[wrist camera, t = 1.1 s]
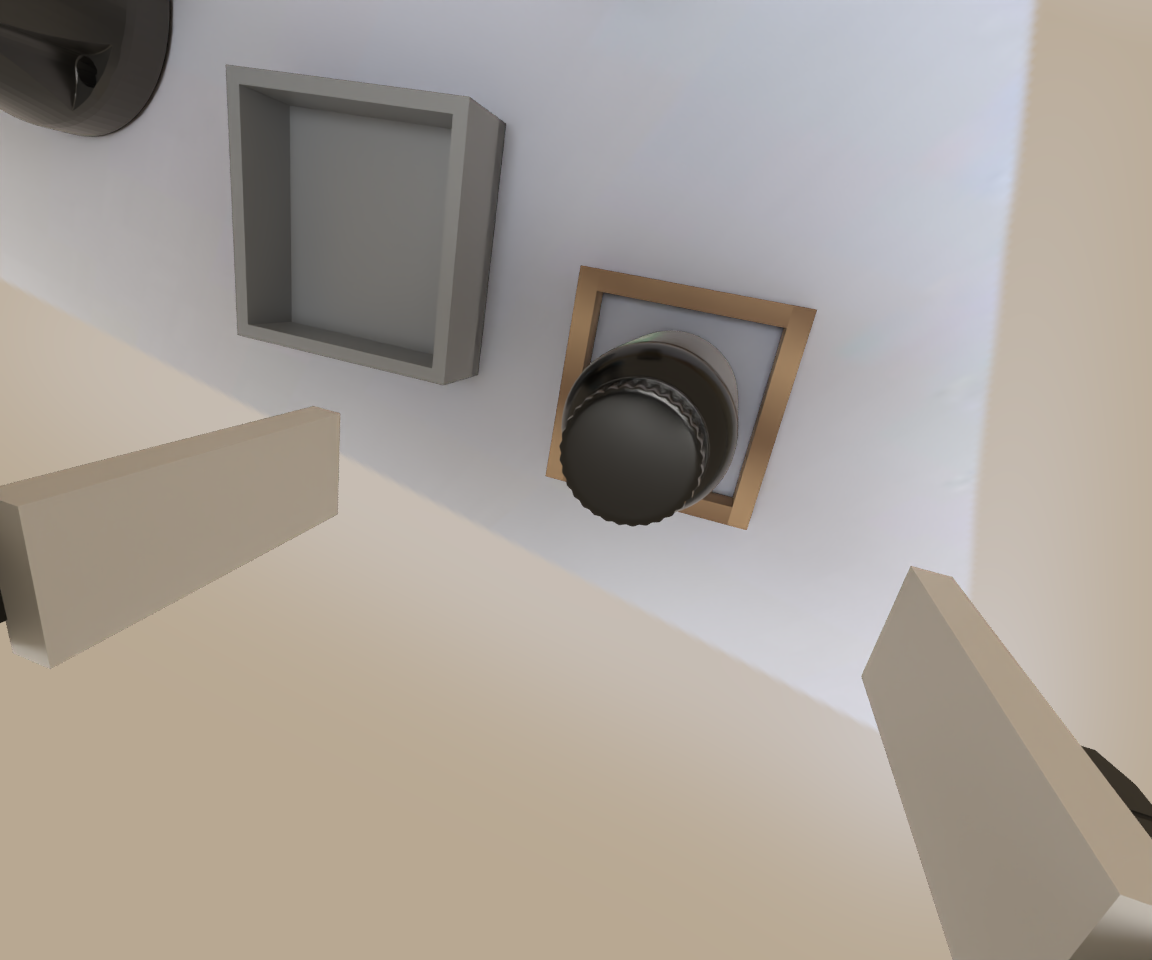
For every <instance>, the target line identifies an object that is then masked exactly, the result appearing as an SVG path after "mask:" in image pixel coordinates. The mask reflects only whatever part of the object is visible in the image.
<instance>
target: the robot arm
mask: <svg viewBox="0 0 1152 960" xmlns="http://www.w3.org/2000/svg"><path fill="white" fill-rule="evenodd" d="M168 32H169V0H0V109H1V110H3V111H5V112H7V113H8V114H10V115H12V116H14V117H16V118H19V119H21V120H24V121H26V122H29V123H32V124H35V125H38V126H42V127H46V128H50V129H54V130H58V131H62V132H67V133H71V134H75V135H80V136H100V135H104V134H108V133H111V132H114V131H116V130H118V129H120V128H121V127H123V126H124V125H126V124H127V123H128V122H130V121H131V120H132V119H133V118H134V117H135V116H136V115H137V114H138V113H139V112H140V111H141V109H142V108H143V107H144V105H145V104H146V102H147V101H148V99H149V97H150V96H151V94H152V92H153V90H154V88H155V85H156V83H157V81H158V78H159V75H160V72H161V69H162V66H163V62H164V57H165V53H166V47H167V41H168ZM339 441H340V413H337V412H334V411H330V410H326V409H322V408H319V407H315V406H312V407H308V408H304V409H300V410H296V411H292V412H288V413H285V414H281V415H277V416H273V417H269V418H265V419H261V420H257V421H254V422H249V423H246V424H242V425H237V426H234V427H230V428H226V429H222V430H218V431H214V432H210V433H206V434H202V435H198V436H194V437H191V438H186V439H182V440H179V441H175V442H171V443H167V444H163V445H159V446H155V447H151V448H147V449H143V450H140V451H136V452H131V453H128V454H124V455H120V456H116V457H112V458H108V459H104V460H101V461H96V462H92V463H88V464H84V465H80V466H76V467H72V468H69V469H65V470H61V471H57V472H53V473H49V474H45V475H41V476H37V477H33V478H29V479H25V480H21V481H17V482H14V483H10V484H6V485H2V486H0V623H1V622H4V621H6V625H7V629H8V633H9V638H10V642H11V647H12V650H13V653H14V654H16V655H18V656H21V657H23V658H25V659H28V660H30V661H33V662H35V663H37V664H40V665H42V666H44V667H47V668H49V669H51V668H53V667H55V666H57V665H59V664H61V663H63V662H64V661H66V660H68V659H70V658H72V657H74V656H76V655H77V654H79V653H81V652H83V651H84V650H87V649H89V648H90V647H92V646H94V645H96V644H98V643H100V642H102V641H103V640H105V639H107V638H109V637H111V636H113V635H115V634H116V633H118V632H120V631H122V630H124V629H125V628H128V627H129V626H131V625H133V624H135V623H137V622H139V621H140V620H142V619H144V618H146V617H148V616H150V615H152V614H153V613H155V612H157V611H159V610H161V609H163V608H165V607H166V606H168V605H170V604H172V603H174V602H176V601H178V600H179V599H181V598H183V597H185V596H187V595H189V594H190V593H193V592H194V591H196V590H198V589H200V588H202V587H204V586H206V585H207V584H209V583H211V582H213V581H215V580H216V579H218V578H220V577H222V576H224V575H226V574H228V573H230V572H231V571H233V570H235V569H237V568H239V567H241V566H243V565H244V564H246V563H248V562H250V561H252V560H254V559H256V558H257V557H259V556H261V555H263V554H265V553H267V552H269V551H270V550H272V549H274V548H276V547H277V546H280V545H282V544H283V543H285V542H287V541H289V540H291V539H293V538H294V537H296V536H298V535H300V534H302V533H304V532H305V531H307V530H309V529H311V528H313V527H315V526H317V525H319V524H320V523H322V522H324V521H326V520H328V519H330V518H332V517H334V516H335V515H337V514H338V481H339ZM861 677H862V680H863V683H864V686H865V689H866V692H867V695H868V698H869V701H870V705H871V708H872V711H873V714H874V717H875V720H876V723H877V726H878V729H879V732H880V736H881V739H882V742H883V745H884V748H885V751H886V754H887V757H888V760H889V764H890V767H891V770H892V773H893V776H894V779H895V782H896V785H897V788H898V791H899V794H900V798H901V801H902V804H903V807H904V810H905V813H906V816H907V819H908V822H909V825H910V829H911V832H912V835H913V838H914V841H915V844H916V847H917V851H918V853H919V857H920V860H921V863H922V866H923V869H924V872H925V875H926V879H927V882H928V885H929V888H930V891H931V894H932V897H933V900H934V903H935V906H936V909H937V913H938V916H939V919H940V922H941V925H942V928H943V931H944V934H945V938H946V941H947V944H948V947H949V950H950V953H951V956H952V959H953V960H1152V804H1151V803H1150V802H1149V801H1148V799H1147V798H1146V797H1145V796H1144V794H1143V793H1142V792H1141V791H1140V790H1139V788H1138V787H1137V786H1136V785H1135V784H1134V783H1133V782H1131V780H1129V779H1128V778H1127V777H1126V776H1125V775H1124V774H1122V773H1121V772H1120V771H1119V770H1118V769H1116V768H1115V767H1114V766H1113V765H1112V764H1111V763H1110V762H1108V761H1107V760H1106V759H1105V758H1104V757H1102V756H1101V755H1100V754H1099V753H1098V752H1097V751H1095V750H1093V749H1090V748H1086V747H1083V746H1081V745H1080V744H1079V743H1078V742H1077V740H1076V739H1075V738H1074V736H1073V735H1072V734H1071V732H1070V731H1069V730H1068V729H1067V727H1066V726H1065V725H1064V723H1063V722H1062V721H1061V719H1060V718H1059V717H1058V715H1057V714H1056V713H1055V711H1054V710H1053V709H1052V707H1051V706H1050V705H1049V704H1048V702H1047V701H1046V700H1045V698H1044V697H1043V696H1042V694H1041V693H1040V692H1039V690H1038V689H1037V688H1036V686H1035V685H1034V684H1033V683H1032V681H1031V680H1030V679H1029V677H1028V676H1027V675H1026V673H1025V672H1024V671H1023V669H1022V668H1021V667H1020V666H1019V664H1018V663H1017V661H1016V660H1015V659H1014V657H1013V656H1012V655H1011V654H1010V652H1009V651H1008V650H1007V648H1006V647H1005V646H1004V644H1003V643H1002V642H1001V640H1000V639H999V638H998V636H997V635H996V634H995V633H994V631H993V630H992V629H991V627H990V626H989V625H988V623H987V622H986V621H985V619H984V618H983V617H982V615H981V614H980V613H979V612H978V610H977V609H976V608H975V606H974V605H973V604H972V602H971V601H970V600H969V598H968V597H967V596H966V594H965V593H964V592H963V590H962V589H961V588H960V587H959V585H958V584H957V583H956V581H955V580H954V579H953V577H950V576H946V575H942V574H939V573H935V572H931V571H928V570H924V569H920V568H916V567H913V566H911V567H910V569H909V571H908V573H907V576H906V578H905V580H904V582H903V584H902V587H901V589H900V591H899V593H898V596H897V598H896V600H895V602H894V605H893V607H892V609H891V611H890V613H889V616H888V618H887V620H886V622H885V625H884V627H883V629H882V631H881V634H880V636H879V638H878V640H877V642H876V645H875V647H874V649H873V651H872V654H871V656H870V658H869V660H868V663H867V665H866V667H865V669H864V671H863V674H862V676H861Z"/></svg>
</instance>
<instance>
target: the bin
mask: <svg viewBox="0 0 1152 960" xmlns="http://www.w3.org/2000/svg"><path fill="white" fill-rule="evenodd" d="M226 84H227V106H228V129H229V152H230V174H231V197H232V220H233V242H234V265H235V288H236V311H237V333H238V335H240V336H244V337H248V338H252V339H256V340H260V341H264V342H268V343H272V344H277V345H281V346H285V347H289V348H293V349H297V350H301V351H305V352H309V353H313V354H318V355H322V356H326V357H330V358H334V359H338V360H342V361H346V362H350V363H354V364H358V365H363V366H367V367H371V368H375V369H379V370H383V371H387V372H391V373H395V374H399V375H404V376H408V377H412V378H416V379H420V380H424V381H428V382H432V383H436V384H440V385H446V384H449V383H453V382H456V381H459V380H462V379H466V378H469V377H472V376H475V375H478V369H479V360H480V351H481V342H482V333H483V324H484V315H485V306H486V297H487V288H488V279H489V270H490V261H491V252H492V243H493V234H494V225H495V216H496V207H497V198H498V189H499V180H500V171H501V162H502V153H503V144H504V135H505V126H506V123H504V122H503V121H502V120H500V119H499V118H498V117H496V116H495V115H494V114H492V113H491V112H489V111H488V110H487V109H485V108H484V107H483V106H481V105H480V104H479V103H477V102H476V101H475V100H473V99H472V98H471V97H467V96H460V95H452V94H445V93H437V92H430V91H422V90H415V89H407V88H400V87H392V86H385V85H377V84H369V83H362V82H354V81H347V80H339V79H332V78H324V77H317V76H309V75H302V74H294V73H287V72H279V71H271V70H264V69H256V68H249V67H241V66H234V65H226Z"/></svg>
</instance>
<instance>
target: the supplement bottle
mask: <svg viewBox="0 0 1152 960" xmlns="http://www.w3.org/2000/svg"><path fill="white" fill-rule="evenodd" d="M561 429H562V441H561V443H560V445H559V448H560V451H561V455H560V459H559V460H560V462H561V464H562V473H563V475H564V476H565V478H566V483H567V486H568V487H569V488H570V489H571V490H572V492H573V495H574V497H575V498H577V499H578V500H580V502H581V504H582V505H583V507H585V508H587V509H590V511H591V512H592V513H593V514H594V515H597V516H601V517H602V518H603V519H604V520H606V521H613V522H615V523H616V524H618V525H623V524H627V525H629V526H636V525H639V524H640V525H648V524H650V523H652V522H660V521H661V520H663V518H665V517H670V516H672V515H673V514H674V513H675V512H678V511H681V510H683V509H686V508H688V507H690V506H692V505H694V504H696V503H697V502H699V501H700V500H702V499H703V498H704V497H706V496H707V495H708V494H709V493H710V492H711V491H712V490H713V489H714V488H715V487H716V486H717V485H718V484H719V483H720V481H721V480H722V479H723V477H724V475H725V474H726V472H727V470H728V468H729V466H730V464H731V461H732V459H733V456H734V453H735V449H736V444H737V438H738V391H737V384H736V380H735V376H734V374H733V371H732V369H731V367H730V365H729V363H728V362H727V360H726V358H725V357H724V356H723V355H722V353H721V352H720V351H719V350H718V349H717V348H716V347H714V346H713V345H712V344H711V343H709V342H708V341H706V340H705V339H703V338H701V337H699V336H696V335H694V334H691V333H687V332H683V331H674V330H669V331H659V332H654V333H651V334H647V335H644V336H642V337H639V338H637V339H635V340H633V341H630V342H628V343H626V344H623V345H621V346H619V347H617V348H614V349H612V350H610V351H608V352H606V353H605V354H603V355H601V356H600V357H599V358H597V359H596V360H595V361H593V362H592V363H591V364H590V365H589V366H588V367H587V368H586V369H585V370H584V371H583V372H582V373H581V374H580V376H579V377H578V378H577V380H576V381H575V383H574V384H573V386H572V388H571V390H570V392H569V394H568V396H567V399H566V402H565V406H564V410H563V415H562V426H561Z"/></svg>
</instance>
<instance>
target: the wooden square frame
mask: <svg viewBox="0 0 1152 960" xmlns="http://www.w3.org/2000/svg"><path fill="white" fill-rule="evenodd" d="M603 292H605V293H610V294H615V295H620V296H625V297H631V298H636V299H641V300H646V301H651V302H656V303H661V304H666V305H671V306H676V307H681V308H686V309H692V310H697V311H702V312H707V313H712V314H717V315H722V316H727V317H732V318H737V319H742V320H747V321H753V322H758V323H763V324H768V325H773V326H778V327H783V328H784V329H783V333H782V336H781V339H780V342H779V346H778V349H777V352H776V356H775V359H774V362H773V366H772V369H771V372H770V376H769V379H768V382H767V386H766V389H765V392H764V395H763V399H762V402H761V405H760V409H759V412H758V415H757V419H756V422H755V425H754V429H753V432H752V435H751V439H750V442H749V445H748V448H747V452H746V455H745V458H744V462H743V465H742V468H741V472H740V475H739V478H738V482H737V485H736V488H735V492H734V495H733V498H732V497H728V496H724V495H721V494H717V493H713V492H710V493H709V494H708V495H707V496H706V497H704V498H703V499H702V500H700V501H699V502H697V503H696V504H694V505H692V506H690V507H688V508H686V509H683V510H681V511H678V512H681V513H685V514H688V515H692V516H696V517H700V518H703V519H707V520H711V521H715V522H718V523H722V524H726V525H729V526H733V527H737V528H741V529H744V530H747V527H748V524H749V521H750V518H751V515H752V512H753V509H754V505H755V502H756V499H757V496H758V493H759V490H760V487H761V484H762V480H763V477H764V474H765V471H766V468H767V465H768V462H769V458H770V455H771V452H772V449H773V446H774V443H775V440H776V437H777V433H778V430H779V427H780V424H781V421H782V418H783V415H784V411H785V408H786V405H787V402H788V399H789V396H790V393H791V390H792V386H793V383H794V380H795V377H796V374H797V371H798V368H799V364H800V361H801V358H802V355H803V352H804V349H805V346H806V343H807V339H808V336H809V333H810V330H811V327H812V324H813V321H814V317H815V314H816V311H817V310H815V309H810V308H805V307H799V306H794V305H789V304H783V303H778V302H773V301H768V300H762V299H757V298H752V297H746V296H741V295H736V294H730V293H725V292H720V291H714V290H709V289H704V288H699V287H693V286H688V285H683V284H677V283H672V282H667V281H661V280H656V279H651V278H645V277H640V276H635V275H630V274H624V273H619V272H614V271H608V270H603V269H598V268H592V267H587V266H582V265H581V267H580V273H579V279H578V285H577V291H576V297H575V302H574V308H573V314H572V320H571V326H570V332H569V338H568V344H567V350H566V356H565V362H564V368H563V374H562V380H561V386H560V392H559V398H558V404H557V410H556V416H555V422H554V428H553V434H552V440H551V446H550V452H549V458H548V464H547V470H546V476H547V477H551V478H554V479H558V480H562V481H566V478H565V476H564V475H563V473H562V464H561V462H560V460H559V459H560V455H561V451H560V448H559V445H560V443H561V441H562V429H561V426H562V415H563V410H564V406H565V402H566V399H567V396H568V394H569V392H570V390H571V388H572V386H573V384H574V383H575V381H576V380H577V378H578V377H579V376H580V374H581V373H582V372H583V371H584V370H585V369H586V368H587V367H588V366H589V365H590V362H591V357H592V351H593V346H594V340H595V335H596V330H597V324H598V319H599V313H600V308H601V302H602V297H603Z"/></svg>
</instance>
